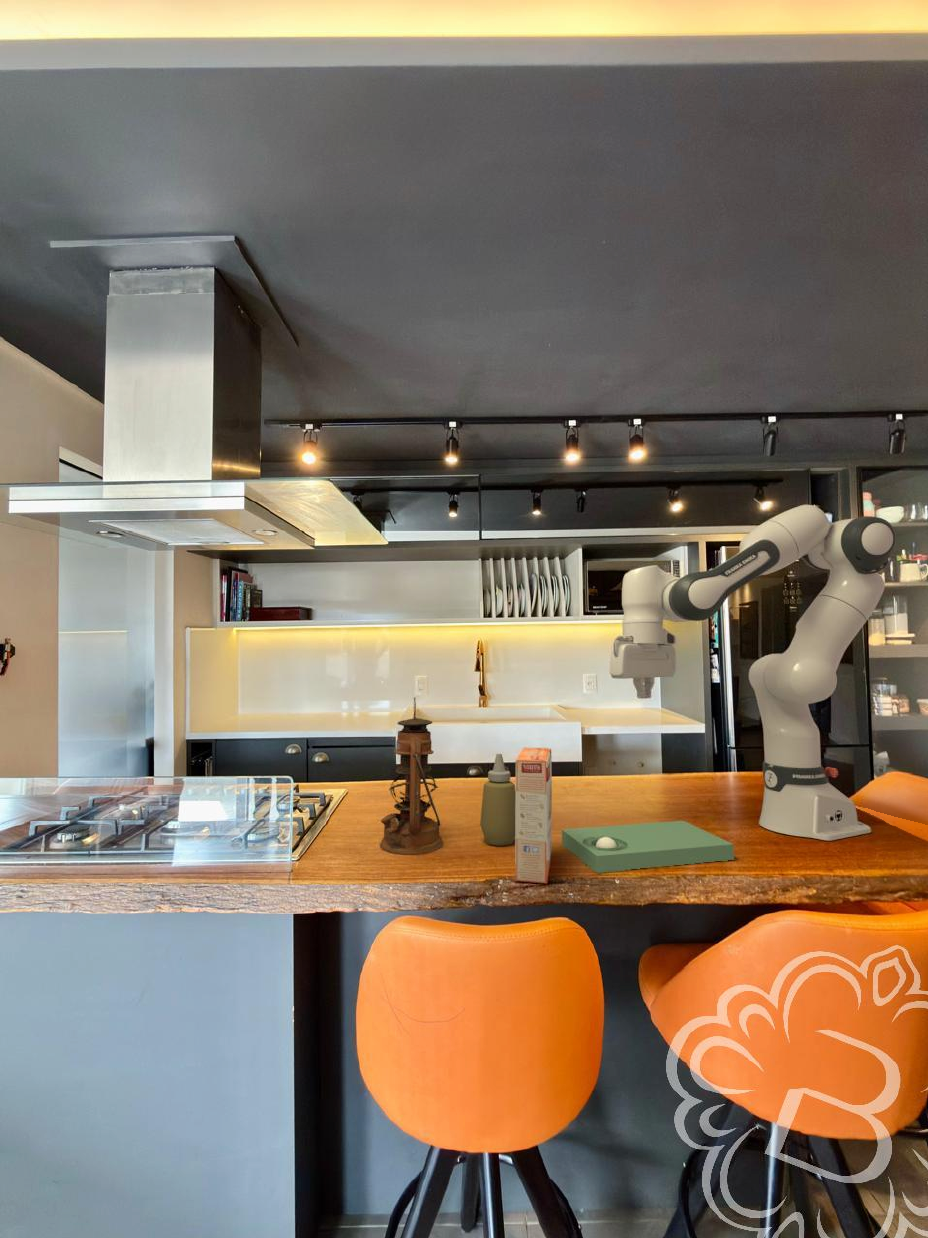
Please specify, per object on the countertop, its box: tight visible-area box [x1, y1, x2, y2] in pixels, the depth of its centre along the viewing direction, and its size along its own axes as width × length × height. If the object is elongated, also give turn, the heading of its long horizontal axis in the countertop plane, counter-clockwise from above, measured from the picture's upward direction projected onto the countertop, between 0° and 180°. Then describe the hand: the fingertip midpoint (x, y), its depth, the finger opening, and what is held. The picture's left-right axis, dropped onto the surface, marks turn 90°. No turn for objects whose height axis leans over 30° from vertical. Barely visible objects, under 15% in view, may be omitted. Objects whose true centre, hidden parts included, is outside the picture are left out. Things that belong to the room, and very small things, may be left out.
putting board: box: [561, 820, 735, 874], centre depth 112 cm, size 28×16×3 cm, turn 103°
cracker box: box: [514, 747, 553, 885], centre depth 104 cm, size 14×6×21 cm, turn 168°
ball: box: [596, 837, 617, 848], centre depth 109 cm, size 4×4×4 cm
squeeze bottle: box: [479, 753, 516, 846], centre depth 119 cm, size 8×8×18 cm
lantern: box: [379, 697, 444, 856], centre depth 119 cm, size 17×13×30 cm
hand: (644, 698), depth 128 cm, fingers closed
